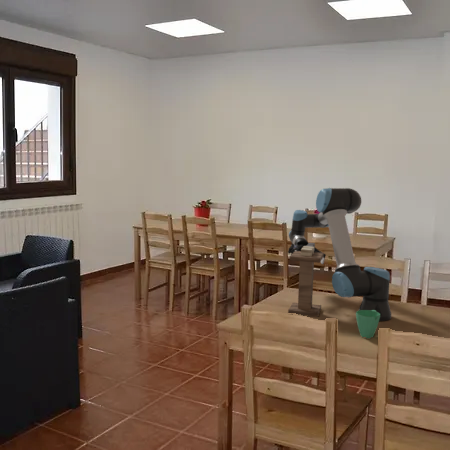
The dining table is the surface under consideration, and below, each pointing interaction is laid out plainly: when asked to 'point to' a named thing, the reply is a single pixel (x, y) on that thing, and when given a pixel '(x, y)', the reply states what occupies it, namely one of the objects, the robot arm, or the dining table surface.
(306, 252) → the bar
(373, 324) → the mug
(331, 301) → the dining table surface
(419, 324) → the dining table surface
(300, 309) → the stand
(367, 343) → the dining table surface
